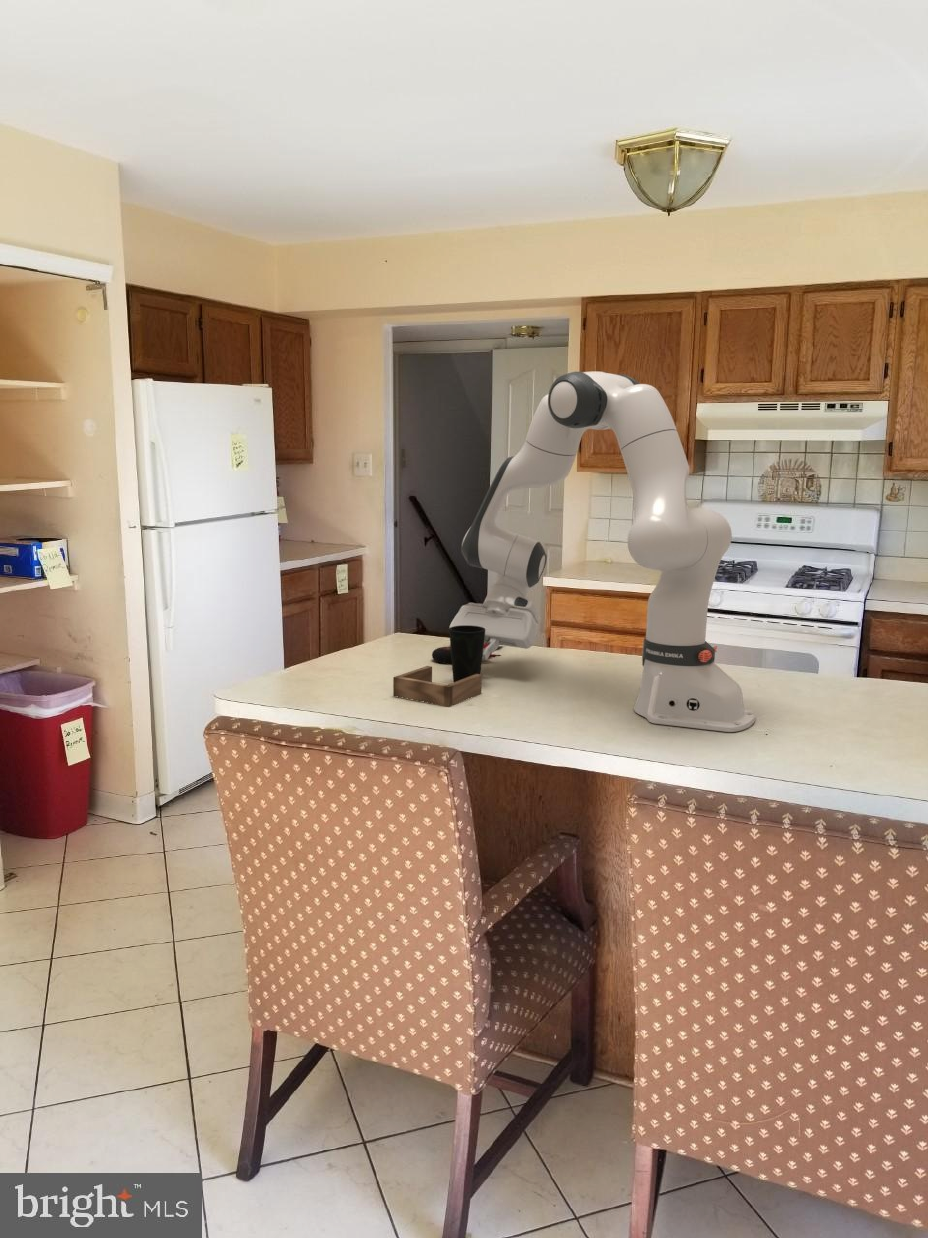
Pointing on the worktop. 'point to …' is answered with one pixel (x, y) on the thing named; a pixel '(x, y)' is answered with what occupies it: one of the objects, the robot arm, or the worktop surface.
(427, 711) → the worktop surface
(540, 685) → the worktop surface
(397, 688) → the bay
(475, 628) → the cup
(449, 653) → the toy motorcycle
